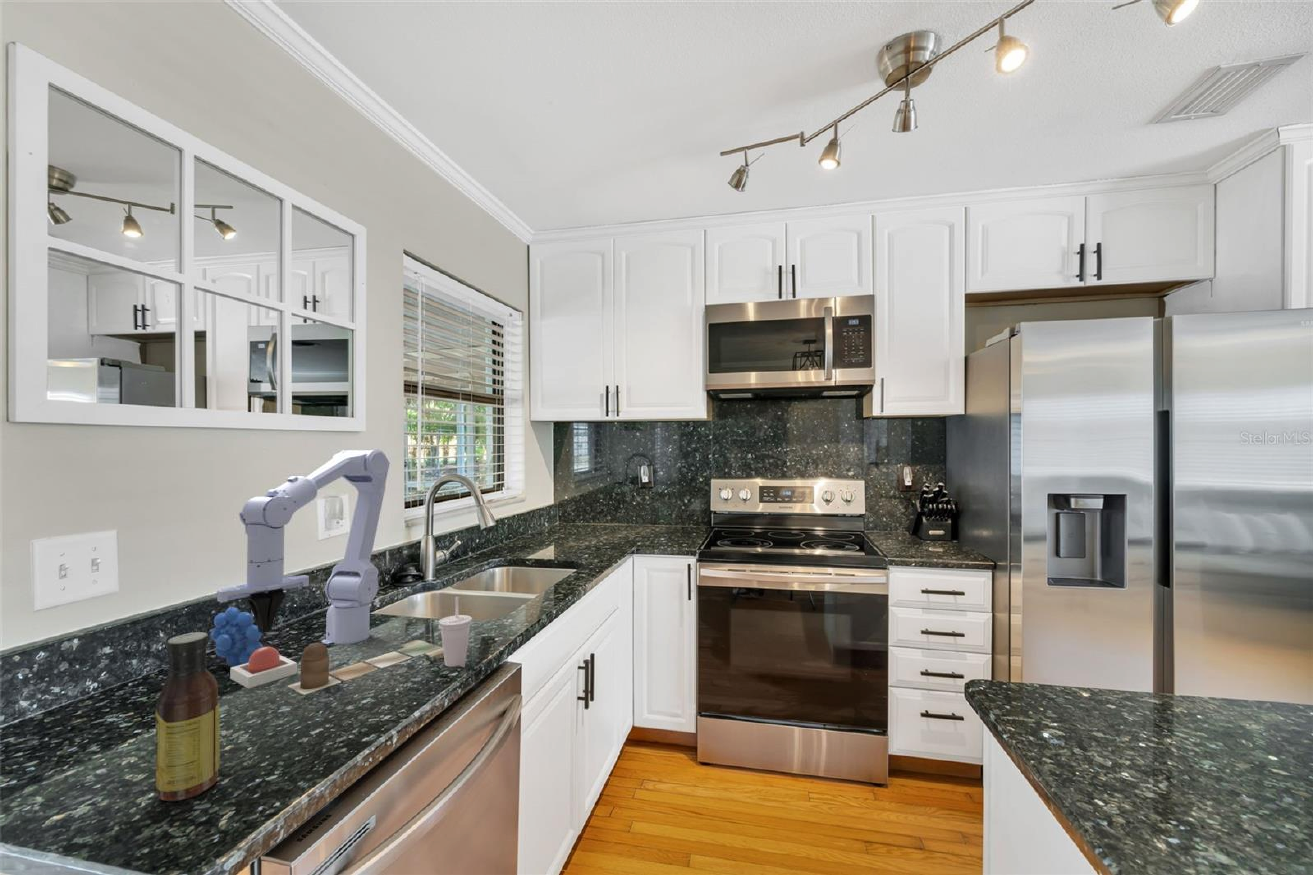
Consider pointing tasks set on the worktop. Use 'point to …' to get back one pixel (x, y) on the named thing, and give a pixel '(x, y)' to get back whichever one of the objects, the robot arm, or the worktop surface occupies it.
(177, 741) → the sauce bottle
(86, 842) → the worktop surface
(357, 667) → the game board
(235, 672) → the dome base
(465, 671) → the worktop surface
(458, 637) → the smoothie
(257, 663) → the dome button
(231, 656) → the grapes
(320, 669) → the walnut pawn
